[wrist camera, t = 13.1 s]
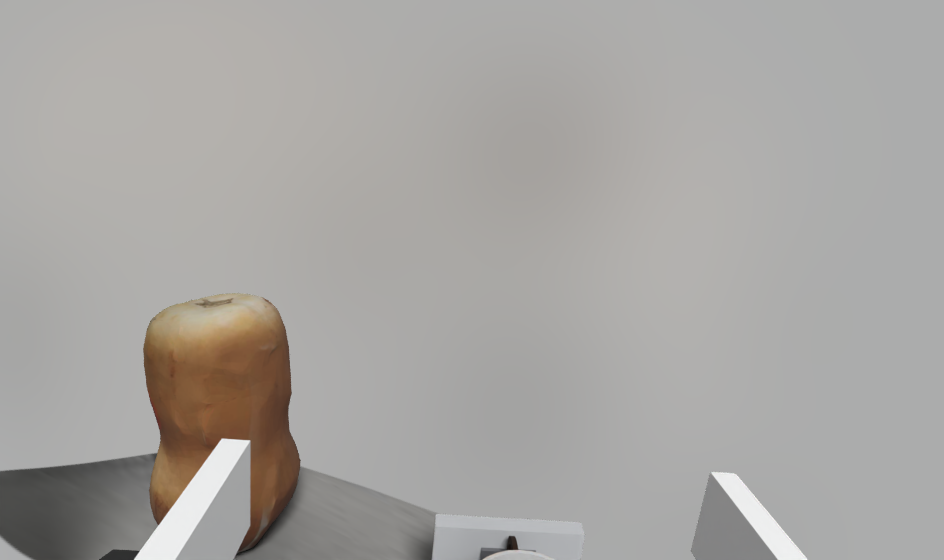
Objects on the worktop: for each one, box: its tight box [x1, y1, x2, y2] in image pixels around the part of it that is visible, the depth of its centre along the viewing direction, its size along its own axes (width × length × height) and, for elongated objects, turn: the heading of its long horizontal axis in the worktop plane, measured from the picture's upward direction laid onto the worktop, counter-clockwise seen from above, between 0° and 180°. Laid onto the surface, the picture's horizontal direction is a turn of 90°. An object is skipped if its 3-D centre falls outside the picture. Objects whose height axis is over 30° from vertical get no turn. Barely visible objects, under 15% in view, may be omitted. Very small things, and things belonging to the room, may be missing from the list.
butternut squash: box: [143, 293, 300, 553], centre depth 52 cm, size 14×13×25 cm
